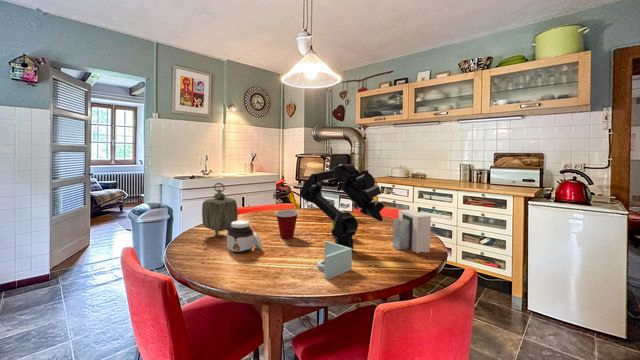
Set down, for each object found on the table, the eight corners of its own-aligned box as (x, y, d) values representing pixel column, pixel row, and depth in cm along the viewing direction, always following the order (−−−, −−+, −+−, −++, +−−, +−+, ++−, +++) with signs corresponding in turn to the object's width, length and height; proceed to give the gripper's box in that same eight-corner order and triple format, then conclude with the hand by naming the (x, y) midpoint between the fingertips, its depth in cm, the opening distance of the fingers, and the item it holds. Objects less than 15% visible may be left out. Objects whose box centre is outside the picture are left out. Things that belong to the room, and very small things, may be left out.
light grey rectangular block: (399, 250, 121) (400, 220, 120) (392, 246, 126) (393, 218, 124) (420, 248, 123) (421, 219, 122) (413, 244, 128) (414, 217, 127)
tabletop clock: (237, 236, 138) (237, 183, 136) (222, 241, 131) (221, 184, 128) (217, 232, 146) (216, 181, 144) (201, 236, 138) (199, 182, 136)
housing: (416, 253, 118) (417, 216, 117) (397, 242, 131) (398, 210, 130) (429, 251, 119) (430, 216, 118) (409, 241, 133) (410, 209, 132)
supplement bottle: (340, 239, 136) (341, 211, 135) (328, 236, 140) (329, 209, 139) (348, 236, 141) (348, 209, 140) (336, 233, 145) (337, 207, 144)
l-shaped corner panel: (326, 260, 109) (326, 240, 108) (351, 270, 101) (351, 248, 100) (301, 269, 101) (301, 247, 100) (326, 280, 92) (327, 256, 92)
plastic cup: (270, 239, 134) (270, 213, 133) (280, 233, 145) (280, 209, 143) (293, 241, 131) (293, 215, 130) (301, 235, 141) (302, 210, 140)
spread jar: (224, 251, 117) (223, 222, 116) (244, 244, 127) (243, 217, 126) (247, 257, 111) (247, 226, 110) (266, 248, 121) (266, 220, 120)
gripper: (380, 180, 108) (405, 209, 112) (359, 176, 126) (382, 201, 130) (359, 202, 107) (386, 231, 111) (341, 195, 125) (365, 220, 128)
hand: (380, 219), depth 120 cm, fingers open, 3 cm apart
